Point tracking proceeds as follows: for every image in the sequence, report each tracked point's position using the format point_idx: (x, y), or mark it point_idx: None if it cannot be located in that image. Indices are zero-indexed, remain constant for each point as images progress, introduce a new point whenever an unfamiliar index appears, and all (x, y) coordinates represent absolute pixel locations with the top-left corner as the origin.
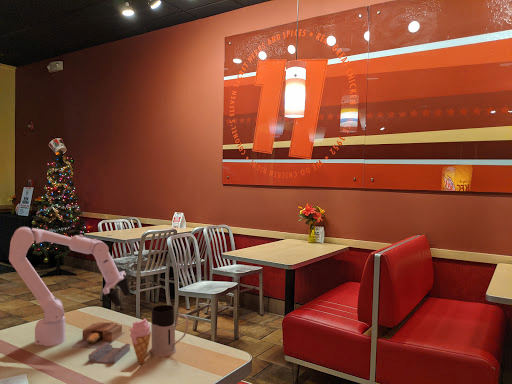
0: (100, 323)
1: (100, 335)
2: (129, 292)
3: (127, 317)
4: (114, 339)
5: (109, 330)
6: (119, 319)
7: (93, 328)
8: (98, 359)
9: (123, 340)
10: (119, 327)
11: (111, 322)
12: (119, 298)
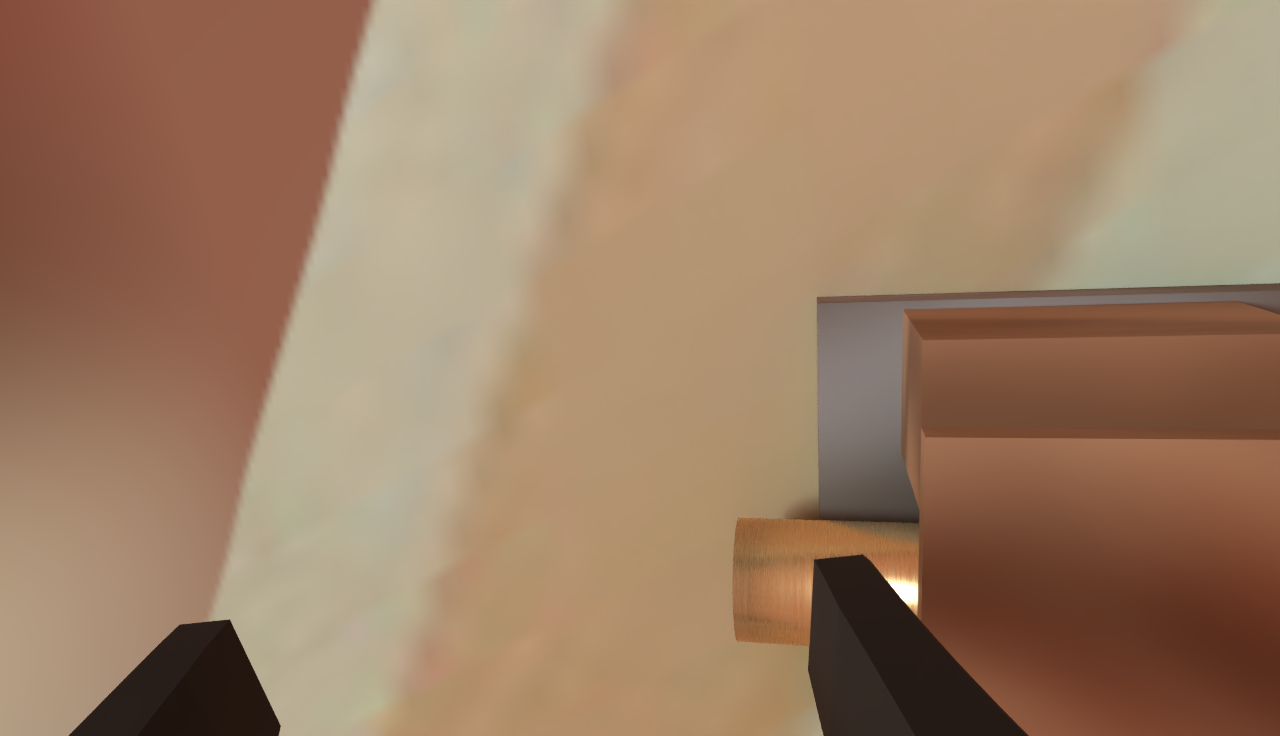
0: None
1: None
2: (162, 670)
3: (251, 573)
4: (1160, 304)
5: (1245, 424)
6: (337, 637)
7: (1260, 727)
8: None
9: (1021, 211)
10: (1011, 336)
11: (752, 601)
12: (926, 728)
